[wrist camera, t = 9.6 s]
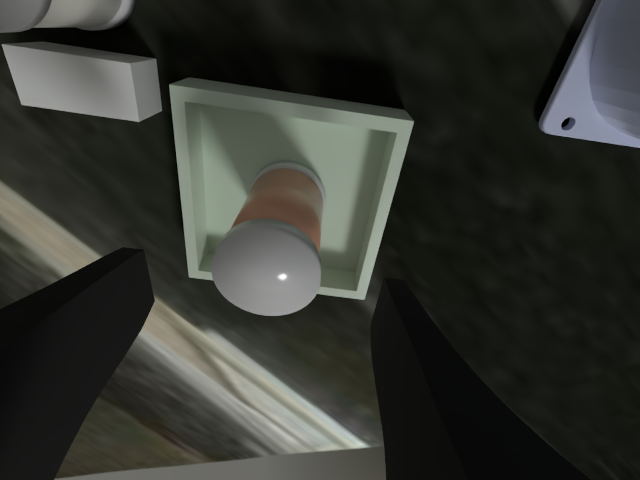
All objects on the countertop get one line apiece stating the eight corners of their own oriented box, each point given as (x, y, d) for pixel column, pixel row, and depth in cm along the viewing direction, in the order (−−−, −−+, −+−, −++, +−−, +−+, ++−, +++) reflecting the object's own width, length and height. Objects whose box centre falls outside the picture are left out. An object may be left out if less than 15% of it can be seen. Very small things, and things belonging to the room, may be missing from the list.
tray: (404, 109, 14) (414, 121, 12) (361, 275, 19) (364, 299, 17) (189, 77, 14) (169, 84, 12) (202, 254, 19) (188, 277, 17)
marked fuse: (330, 165, 15) (326, 237, 10) (321, 232, 17) (314, 320, 12) (250, 156, 15) (206, 223, 10) (250, 224, 17) (214, 310, 12)
